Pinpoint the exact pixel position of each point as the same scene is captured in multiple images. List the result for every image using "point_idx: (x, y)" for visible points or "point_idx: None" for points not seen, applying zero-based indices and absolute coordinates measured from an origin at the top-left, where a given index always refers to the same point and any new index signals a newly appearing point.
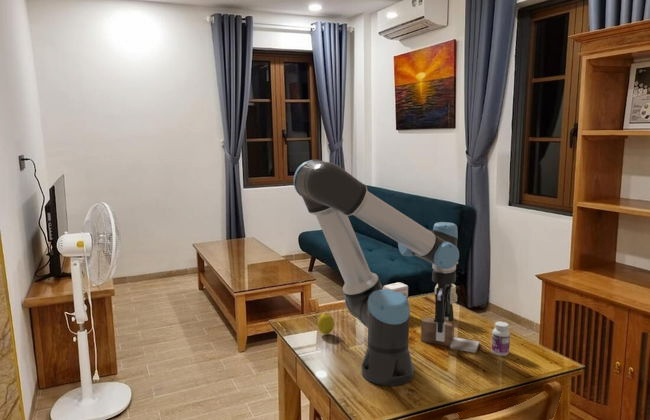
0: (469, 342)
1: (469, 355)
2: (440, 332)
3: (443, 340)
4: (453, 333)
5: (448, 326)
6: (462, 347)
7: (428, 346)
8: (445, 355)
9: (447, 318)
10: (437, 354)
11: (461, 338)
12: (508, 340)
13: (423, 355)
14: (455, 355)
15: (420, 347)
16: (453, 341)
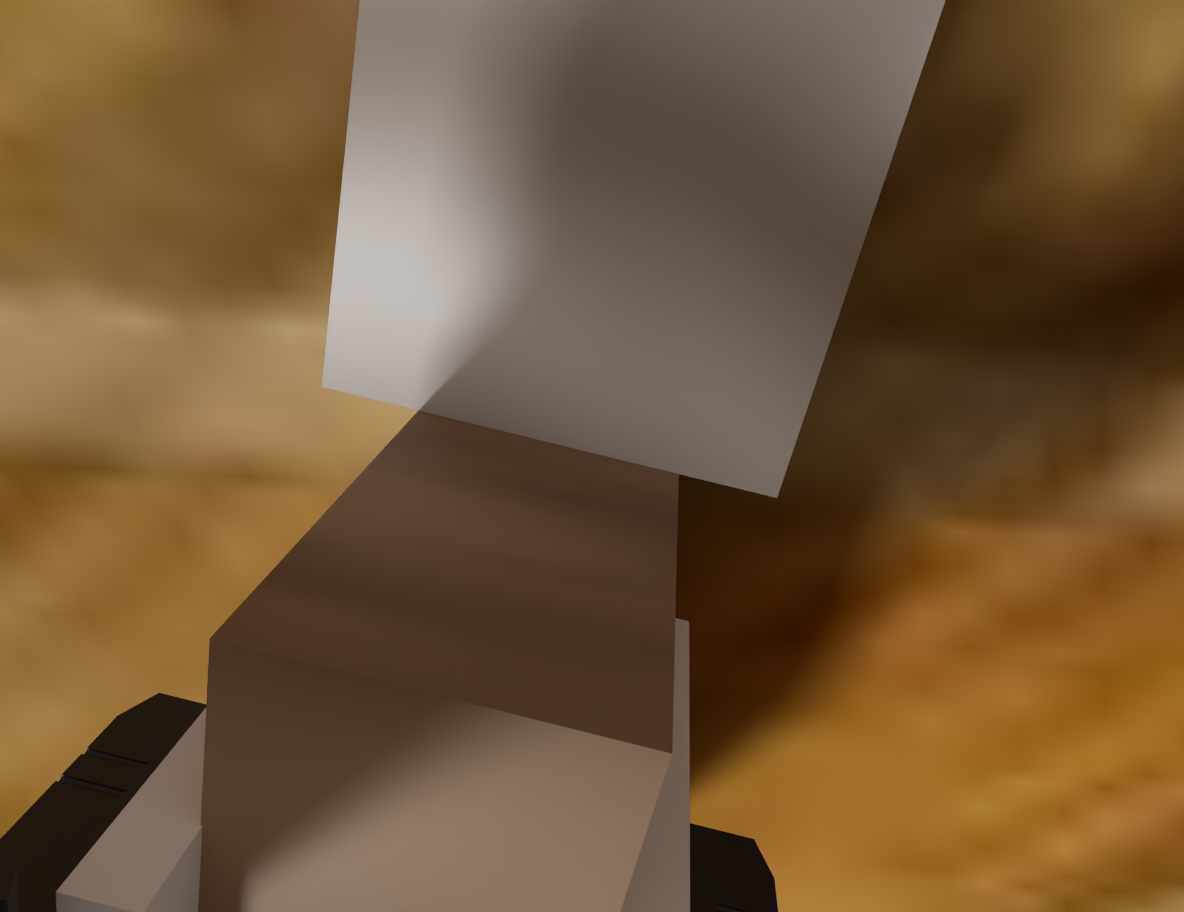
0: (527, 39)
1: (1116, 69)
2: (746, 871)
3: (685, 650)
4: (419, 478)
5: (646, 820)
6: (864, 237)
7: (748, 805)
8: (1119, 571)
9: (154, 907)
10: (1075, 697)
11: (337, 234)
12: None
13: (1120, 890)
14: (1118, 387)
15: (807, 908)
16: (560, 422)
